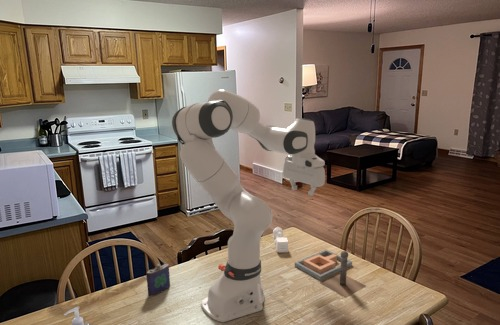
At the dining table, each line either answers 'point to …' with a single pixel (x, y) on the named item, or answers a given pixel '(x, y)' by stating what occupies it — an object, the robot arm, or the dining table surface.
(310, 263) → the ring
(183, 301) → the dining table surface
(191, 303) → the dining table surface
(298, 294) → the dining table surface
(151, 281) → the flask
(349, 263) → the grey rectangular frame
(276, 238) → the container set
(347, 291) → the post
